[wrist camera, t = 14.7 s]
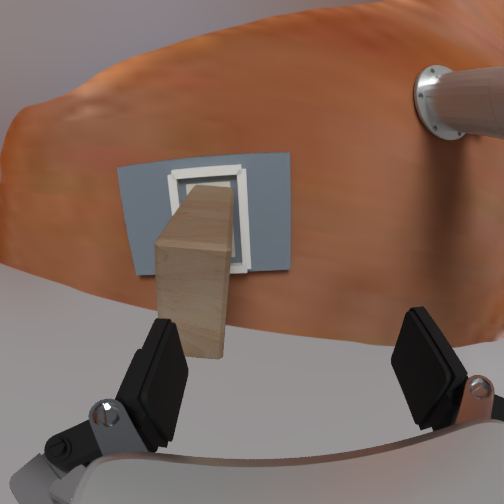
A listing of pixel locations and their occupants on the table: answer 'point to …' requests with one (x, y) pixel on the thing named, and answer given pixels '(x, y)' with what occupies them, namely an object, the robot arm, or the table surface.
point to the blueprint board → (223, 175)
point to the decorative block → (197, 269)
